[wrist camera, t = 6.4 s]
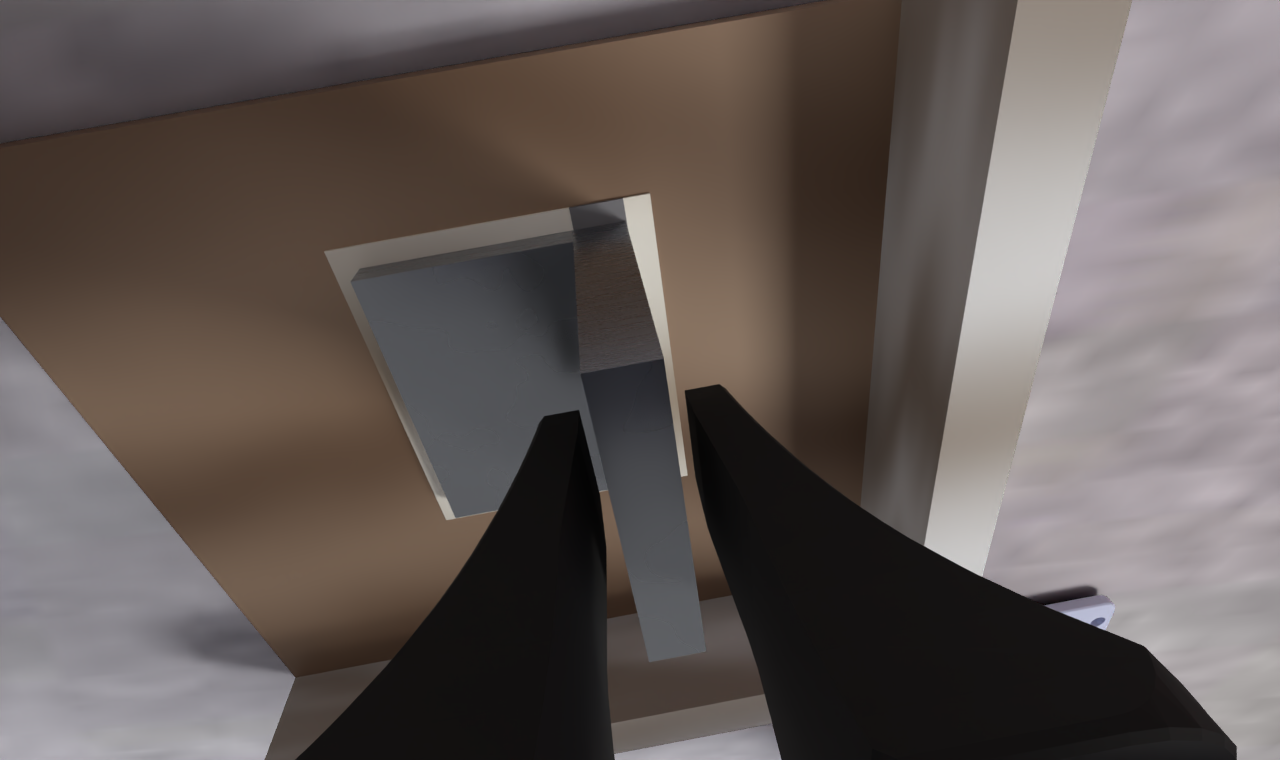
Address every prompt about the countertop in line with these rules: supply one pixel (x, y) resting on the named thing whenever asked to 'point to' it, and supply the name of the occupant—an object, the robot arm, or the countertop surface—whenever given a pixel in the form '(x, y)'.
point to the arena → (553, 203)
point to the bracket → (546, 390)
